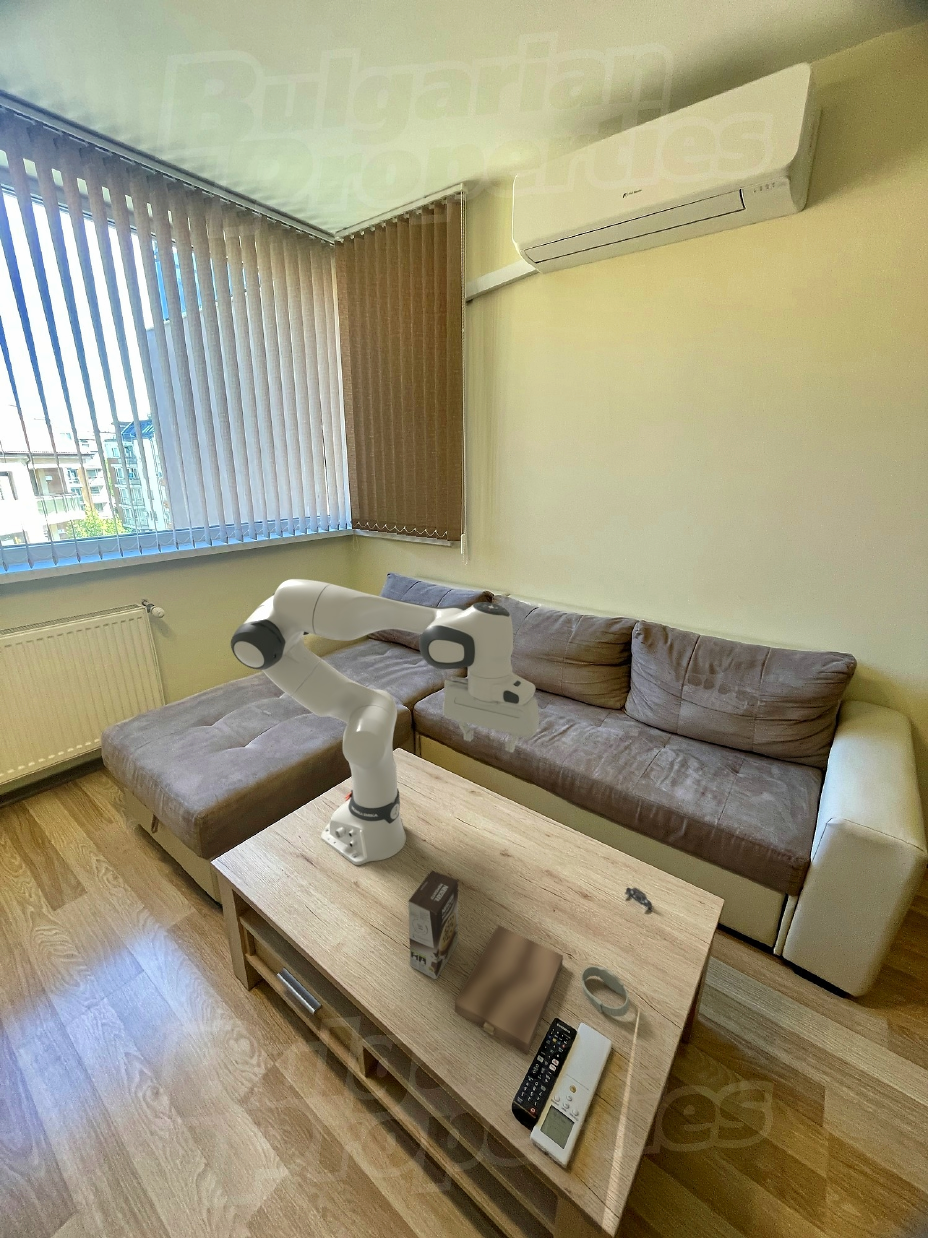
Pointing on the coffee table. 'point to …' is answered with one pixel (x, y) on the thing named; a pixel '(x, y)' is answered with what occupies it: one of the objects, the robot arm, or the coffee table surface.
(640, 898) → the dark grey irregular piece
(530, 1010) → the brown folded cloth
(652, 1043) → the coffee table surface
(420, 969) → the coffee box
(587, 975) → the grey oval ring piece
